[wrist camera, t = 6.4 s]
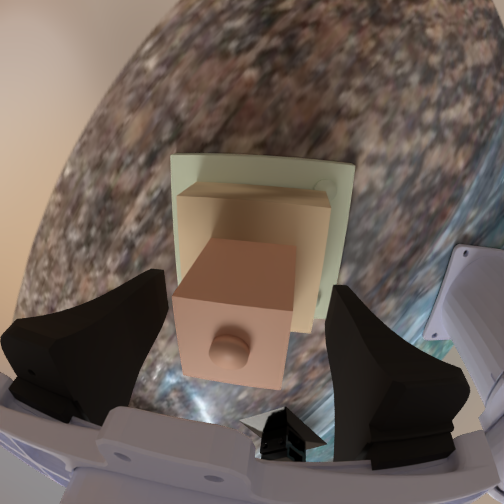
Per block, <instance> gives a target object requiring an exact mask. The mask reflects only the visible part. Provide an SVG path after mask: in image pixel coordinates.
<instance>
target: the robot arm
mask: <svg viewBox="0 0 504 504" xmlns="http://www.w3.org/2000/svg"><path fill="white" fill-rule="evenodd" d="M465 250H466V253H465V254H463V253H464V251H465ZM168 309H169V307H168V300H167V292H166V284H165V275H164V270H159V269H150V270H147V271H145V272H143V273H142V274H140V275H138V276H136V277H135V278H133V279H131V280H129V281H128V282H126V283H124V284H122V285H121V286H119V287H117V288H115V289H113V290H111V291H109V292H108V293H106V294H104V295H102V296H100V297H98V298H96V299H93V300H91V301H89V302H86V303H84V304H81V305H79V306H76V307H73V308H70V309H66V310H63V311H60V312H56V313H52V314H48V315H43V316H37V317H30V318H22V319H16V320H15V321H14V323H13V324H12V325H11V326H10V327H9V328H8V329H7V330H6V331H5V332H4V333H3V334H2V336H1V340H0V342H1V346H2V350H3V352H4V354H5V356H6V358H7V360H8V361H9V363H10V365H11V367H12V368H13V370H14V372H15V373H16V375H17V377H16V379H15V380H14V381H13V380H12V379H11V378H10V377H8V376H7V375H5V374H3V373H1V372H0V446H2V447H3V448H5V449H6V450H7V451H9V452H10V453H12V454H13V455H14V456H16V457H17V458H19V459H20V460H22V461H23V462H25V463H26V464H28V465H29V466H31V467H32V468H34V469H36V470H37V471H39V472H40V473H42V474H43V475H45V476H47V477H48V478H50V479H52V480H53V481H55V482H57V483H58V484H60V485H62V486H64V487H66V490H65V492H64V495H63V497H62V499H61V502H60V504H471V503H472V502H474V501H475V500H477V499H478V498H480V497H481V496H483V495H484V494H486V493H488V494H489V495H490V496H491V497H492V498H494V499H495V500H497V501H499V502H500V503H502V504H504V250H503V249H495V248H488V247H480V246H473V245H465V244H458V245H456V246H455V247H454V249H453V252H452V255H451V258H450V262H449V265H448V268H447V271H446V274H445V277H444V280H443V283H442V286H441V288H440V291H439V294H438V297H437V299H436V302H435V305H434V307H433V310H432V312H431V315H430V317H429V320H428V322H427V324H426V327H425V329H424V331H423V338H424V339H425V340H447V339H451V340H452V341H453V343H454V345H455V347H456V349H457V351H458V353H459V354H460V356H461V358H462V360H463V362H464V364H465V366H466V368H467V370H468V372H469V373H470V376H471V378H472V380H473V382H474V384H475V386H476V388H477V390H478V392H479V395H480V397H481V399H482V401H483V403H484V406H485V410H484V412H483V413H482V414H481V415H480V417H479V420H480V422H481V425H482V428H483V430H478V431H474V432H471V433H467V434H463V435H460V436H458V437H456V438H454V439H453V438H452V435H451V432H452V431H453V430H454V426H453V423H452V420H453V419H454V417H455V416H456V415H457V413H458V412H459V411H460V410H461V408H462V407H463V406H464V404H465V403H466V401H467V399H468V397H469V394H470V387H469V384H468V382H467V380H466V378H465V376H464V374H463V372H462V370H461V368H459V367H456V366H454V365H451V364H448V363H446V362H443V361H441V360H439V359H437V358H435V357H433V356H431V355H429V354H427V353H425V352H423V351H421V350H419V349H418V348H416V347H415V346H413V345H411V344H410V343H408V342H407V341H405V340H404V339H403V338H401V337H400V336H399V335H397V334H396V333H395V332H393V331H392V330H391V329H390V328H388V327H387V326H386V325H385V324H384V323H383V322H382V321H381V320H380V319H378V318H377V317H376V316H375V315H374V314H373V313H372V312H371V311H370V310H369V309H368V307H367V306H366V305H365V304H364V303H363V302H362V301H361V300H360V299H359V298H358V297H357V295H356V294H355V293H354V292H353V291H352V290H351V289H350V288H349V287H348V286H347V285H333V287H332V292H331V297H330V302H329V307H328V311H327V316H326V321H325V336H326V347H327V352H328V358H329V364H330V369H331V375H332V381H333V388H334V406H335V438H334V459H333V462H284V461H268V460H263V459H259V458H255V449H256V448H255V446H254V444H253V442H252V440H251V439H250V438H249V437H248V436H246V435H245V434H243V433H241V432H239V431H238V430H236V429H233V428H229V427H225V426H221V425H218V424H211V423H205V422H199V421H193V420H188V419H182V418H177V417H172V416H168V415H163V414H159V413H154V412H150V411H146V410H142V409H138V408H132V407H128V404H129V401H130V398H131V395H132V391H133V388H134V385H135V383H136V380H137V377H138V374H139V371H140V369H141V367H142V365H143V363H144V361H145V359H146V357H147V355H148V353H149V351H150V349H151V347H152V345H153V343H154V342H155V340H156V338H157V336H158V334H159V332H160V330H161V328H162V326H163V323H164V321H165V318H166V315H167V312H168ZM434 333H435V334H434Z"/></svg>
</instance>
